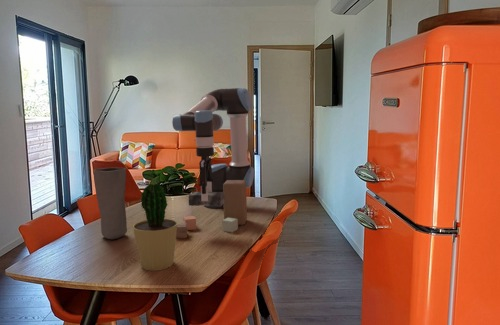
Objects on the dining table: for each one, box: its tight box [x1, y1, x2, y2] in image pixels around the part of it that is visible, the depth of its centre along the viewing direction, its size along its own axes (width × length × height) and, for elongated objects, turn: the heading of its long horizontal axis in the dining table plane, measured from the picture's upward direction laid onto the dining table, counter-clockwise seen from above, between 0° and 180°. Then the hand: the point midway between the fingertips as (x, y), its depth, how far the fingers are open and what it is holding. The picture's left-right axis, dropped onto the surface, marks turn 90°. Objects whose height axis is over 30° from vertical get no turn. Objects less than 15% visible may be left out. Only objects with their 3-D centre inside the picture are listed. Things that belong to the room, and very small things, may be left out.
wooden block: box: [223, 180, 248, 226], centre depth 199 cm, size 10×10×20 cm
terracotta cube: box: [182, 215, 197, 231], centre depth 192 cm, size 5×5×5 cm
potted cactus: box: [132, 183, 178, 271], centre depth 147 cm, size 15×15×30 cm
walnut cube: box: [176, 223, 188, 239], centre depth 180 cm, size 5×5×5 cm
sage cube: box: [221, 218, 239, 233], centre depth 188 cm, size 5×5×5 cm
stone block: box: [188, 191, 225, 207], centre depth 182 cm, size 9×14×5 cm, turn 79°
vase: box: [93, 167, 128, 240], centre depth 178 cm, size 12×12×30 cm
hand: (206, 198), depth 181 cm, fingers closed on stone block, 8 cm apart
